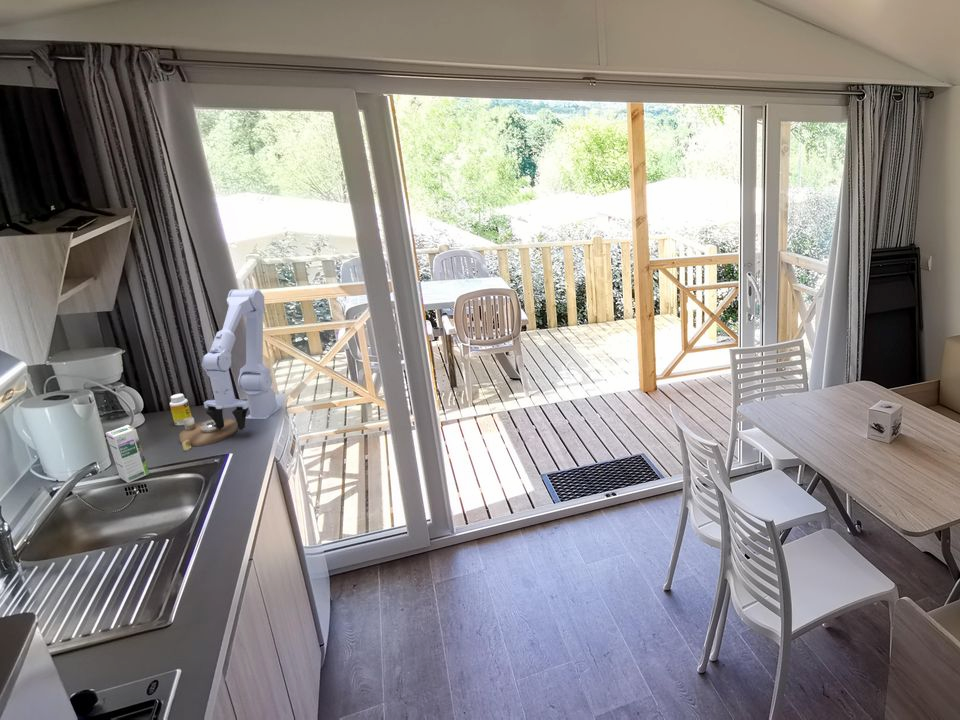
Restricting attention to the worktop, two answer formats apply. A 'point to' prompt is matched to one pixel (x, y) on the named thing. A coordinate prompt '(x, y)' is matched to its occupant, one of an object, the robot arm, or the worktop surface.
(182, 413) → the supplement bottle
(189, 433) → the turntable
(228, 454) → the worktop surface
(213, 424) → the metal cover
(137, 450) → the syrup box
